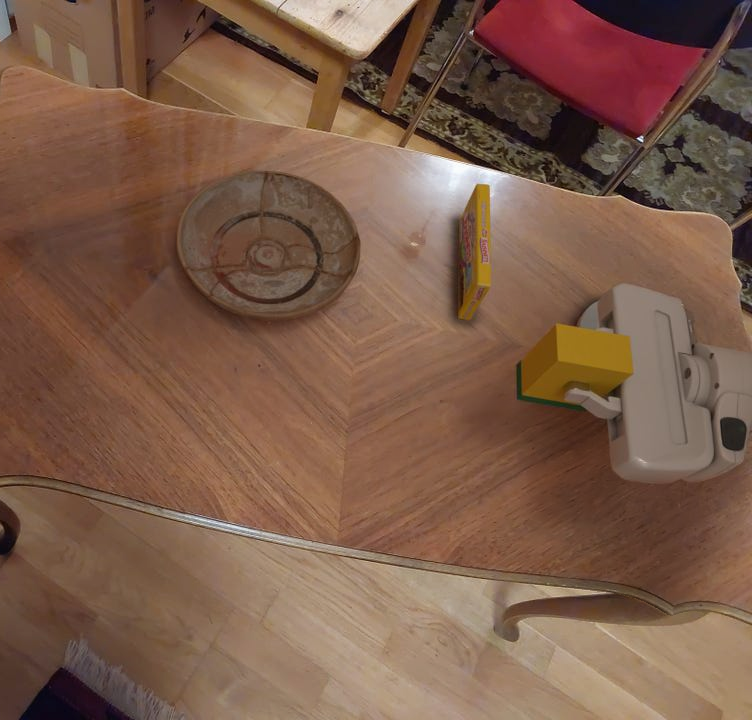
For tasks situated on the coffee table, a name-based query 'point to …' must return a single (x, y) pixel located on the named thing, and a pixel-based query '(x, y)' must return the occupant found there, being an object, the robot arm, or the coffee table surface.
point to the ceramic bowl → (268, 245)
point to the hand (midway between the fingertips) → (564, 365)
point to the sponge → (573, 365)
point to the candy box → (474, 252)
